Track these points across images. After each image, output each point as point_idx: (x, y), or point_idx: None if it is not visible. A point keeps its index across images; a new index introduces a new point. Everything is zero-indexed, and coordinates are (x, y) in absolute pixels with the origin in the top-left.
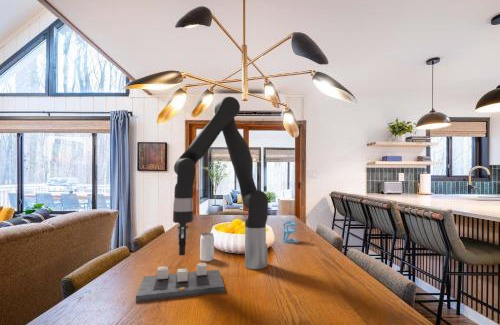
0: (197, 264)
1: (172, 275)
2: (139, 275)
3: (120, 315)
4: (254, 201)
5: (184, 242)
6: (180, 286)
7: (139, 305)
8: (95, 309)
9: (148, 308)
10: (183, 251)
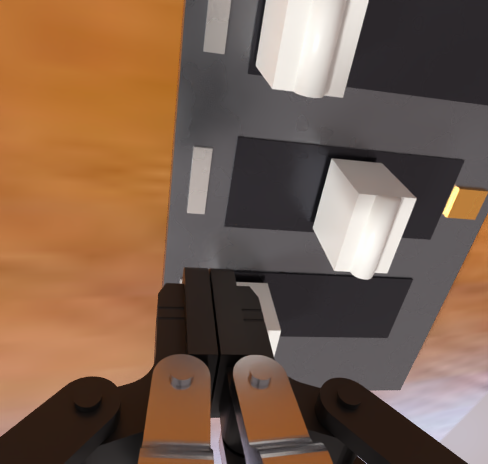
0: (322, 90)
1: (201, 250)
2: (37, 395)
3: (459, 391)
4: None
5: (404, 433)
6: (428, 210)
7: (423, 351)
8: None
9: (473, 320)
10: (261, 314)
